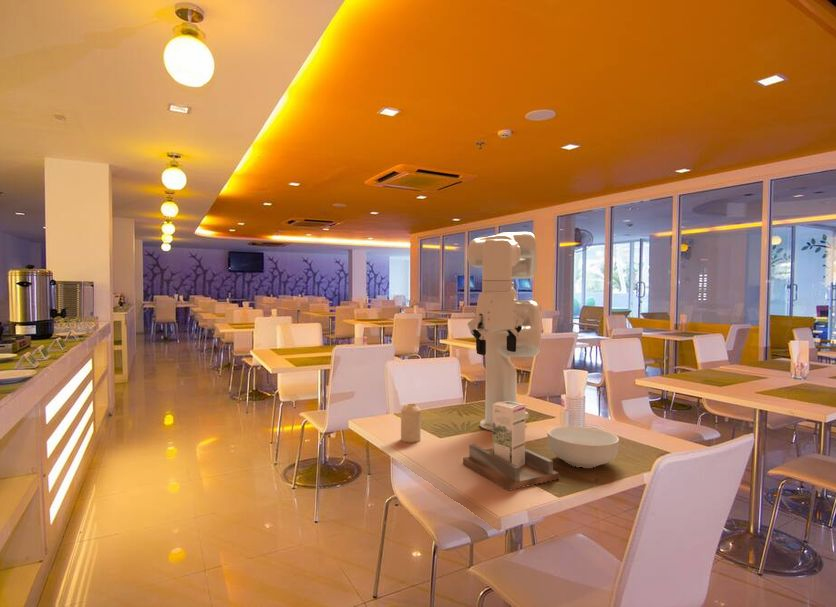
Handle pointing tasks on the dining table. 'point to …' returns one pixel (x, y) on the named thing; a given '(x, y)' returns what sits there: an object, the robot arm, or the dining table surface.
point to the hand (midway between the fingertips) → (496, 352)
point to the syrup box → (509, 432)
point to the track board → (510, 468)
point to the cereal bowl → (583, 445)
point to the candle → (410, 423)
